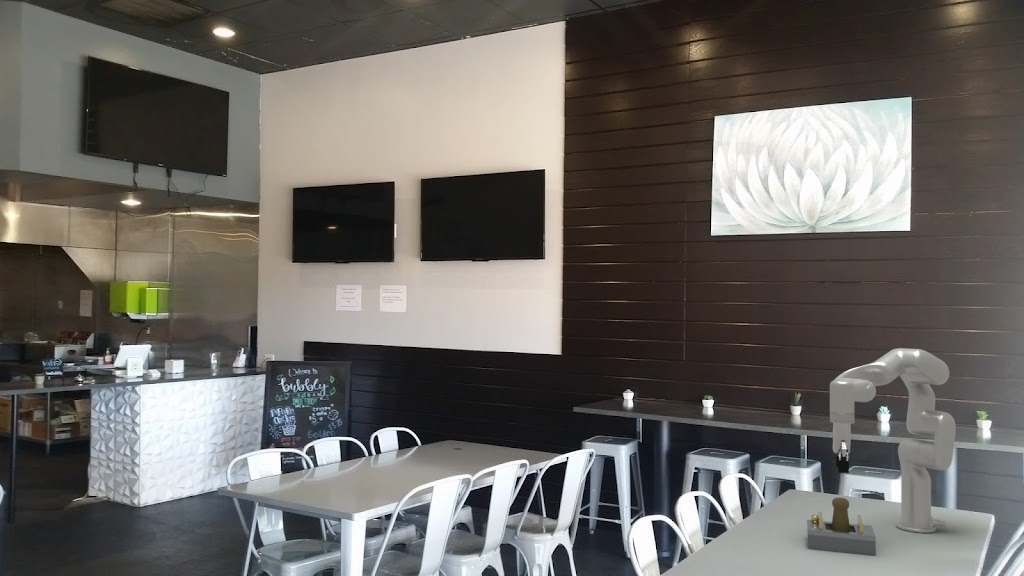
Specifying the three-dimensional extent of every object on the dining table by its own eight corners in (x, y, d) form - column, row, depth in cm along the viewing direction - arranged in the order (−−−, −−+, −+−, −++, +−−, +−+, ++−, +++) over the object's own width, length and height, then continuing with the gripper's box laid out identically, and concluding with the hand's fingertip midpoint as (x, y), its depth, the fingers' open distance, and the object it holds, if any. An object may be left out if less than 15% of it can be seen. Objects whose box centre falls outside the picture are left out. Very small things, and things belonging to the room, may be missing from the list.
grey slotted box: (871, 544, 265) (871, 514, 265) (875, 555, 252) (875, 525, 252) (806, 537, 271) (807, 509, 272) (807, 548, 258) (807, 518, 258)
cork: (848, 530, 264) (848, 496, 264) (852, 535, 258) (852, 500, 259) (829, 529, 265) (829, 495, 266) (832, 534, 259) (832, 499, 260)
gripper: (828, 414, 275) (828, 464, 274) (831, 420, 258) (831, 474, 258) (852, 415, 272) (852, 466, 272) (856, 421, 256) (857, 475, 255)
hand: (842, 470), depth 265 cm, fingers open, 9 cm apart
